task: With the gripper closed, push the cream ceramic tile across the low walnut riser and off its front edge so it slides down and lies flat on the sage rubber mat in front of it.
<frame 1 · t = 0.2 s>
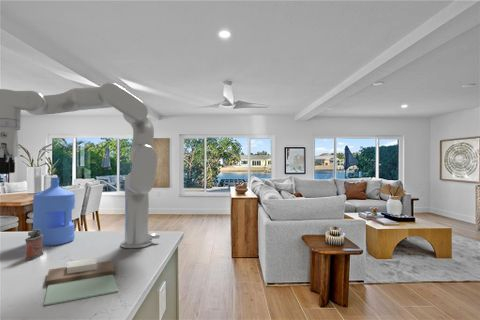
hand: (6, 173, 105), 31 cm above the kitchen island, tool pointing down, fingers open, 9 cm apart
mat: (82, 289, 82), on the kitchen island
water jug: (54, 242, 130), on the kitchen island
riser: (81, 274, 92), on the kitchen island
tile: (81, 265, 94), point 2 cm above the kitchen island, touching riser
lighter: (34, 257, 109), on the kitchen island
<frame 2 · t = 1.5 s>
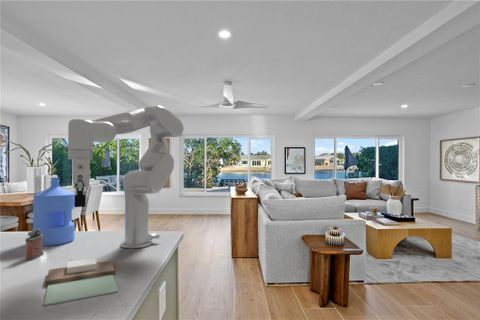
hand: (80, 204, 102), 20 cm above the kitchen island, tool pointing down, fingers open, 9 cm apart
nothing on the kitchen island moved.
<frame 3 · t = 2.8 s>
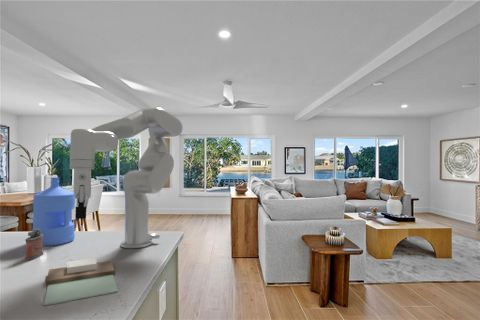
hand: (80, 218, 102), 16 cm above the kitchen island, tool pointing down, fingers closed
nothing on the kitchen island moved.
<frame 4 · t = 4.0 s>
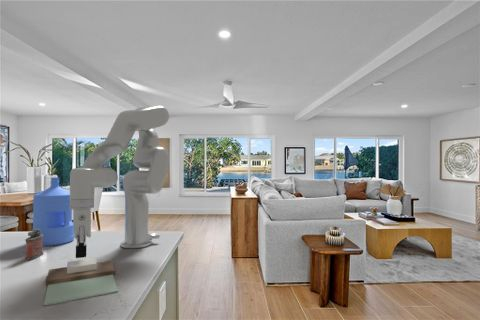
hand: (81, 256, 102), 2 cm above the kitchen island, tool pointing down, fingers closed
nothing on the kitchen island moved.
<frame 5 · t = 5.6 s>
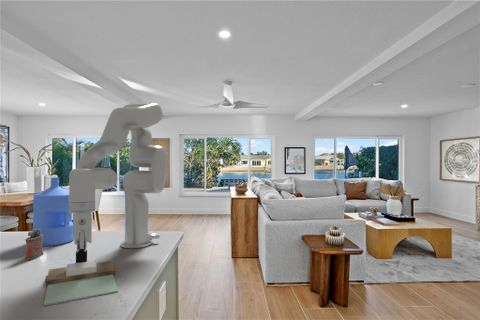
hand: (81, 263, 95), 2 cm above the kitchen island, tool pointing down, fingers closed
tile: (81, 268, 92), point 2 cm above the kitchen island
everything else where it was.
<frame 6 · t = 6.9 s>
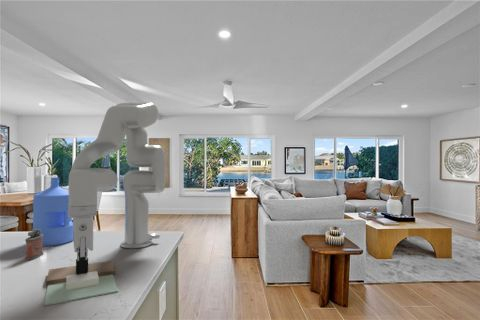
hand: (81, 272, 88), 2 cm above the kitchen island, tool pointing down, fingers closed
tile: (82, 280, 85), point 1 cm above the kitchen island, touching mat
everything else where it was.
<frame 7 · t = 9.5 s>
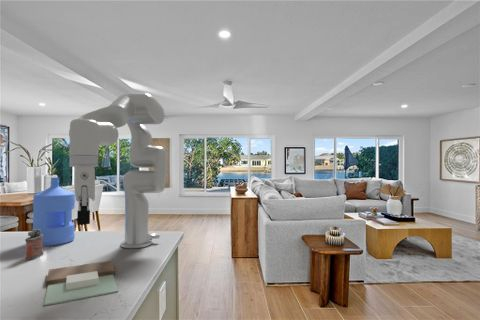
hand: (83, 223, 87), 17 cm above the kitchen island, tool pointing down, fingers closed
nothing on the kitchen island moved.
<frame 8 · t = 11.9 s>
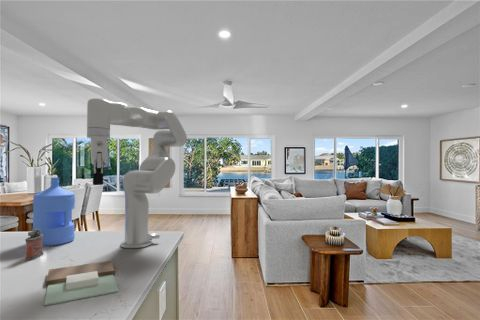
hand: (97, 184, 106), 27 cm above the kitchen island, tool pointing down, fingers closed
nothing on the kitchen island moved.
at the end: tile point 1.3 cm above the kitchen island; tile inside the target area on the mat (3.4 cm from its centre), point 1.3 cm above the mat's base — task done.
